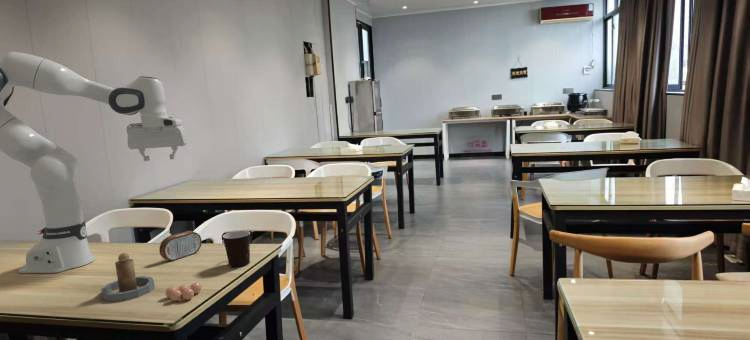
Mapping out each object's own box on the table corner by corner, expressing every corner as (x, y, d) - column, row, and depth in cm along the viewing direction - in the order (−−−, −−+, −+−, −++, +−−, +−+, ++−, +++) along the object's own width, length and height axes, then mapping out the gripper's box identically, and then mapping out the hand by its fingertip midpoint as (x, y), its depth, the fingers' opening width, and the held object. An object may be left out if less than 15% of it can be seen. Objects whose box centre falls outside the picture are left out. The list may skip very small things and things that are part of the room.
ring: (92, 302, 135) (91, 295, 134) (116, 284, 148) (115, 278, 147) (142, 299, 135) (141, 292, 135) (161, 281, 148) (160, 274, 148)
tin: (199, 250, 178) (196, 227, 177) (204, 251, 176) (201, 228, 175) (160, 263, 166) (157, 239, 165) (165, 264, 164) (162, 240, 163)
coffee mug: (245, 269, 154) (242, 238, 153) (220, 268, 156) (217, 238, 155) (261, 256, 166) (258, 228, 164) (238, 256, 167) (234, 228, 166)
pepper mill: (116, 295, 139) (110, 256, 137) (124, 289, 144) (118, 251, 142) (132, 294, 139) (127, 255, 137) (140, 287, 144) (134, 250, 142)
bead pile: (160, 304, 131) (159, 293, 130) (171, 293, 138) (169, 282, 138) (194, 301, 131) (193, 290, 130) (203, 290, 138) (202, 280, 138)
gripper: (121, 124, 173) (126, 162, 175) (179, 120, 174) (184, 159, 176) (129, 123, 180) (134, 160, 182) (186, 119, 180) (190, 157, 182)
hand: (159, 160), depth 179 cm, fingers open, 8 cm apart
